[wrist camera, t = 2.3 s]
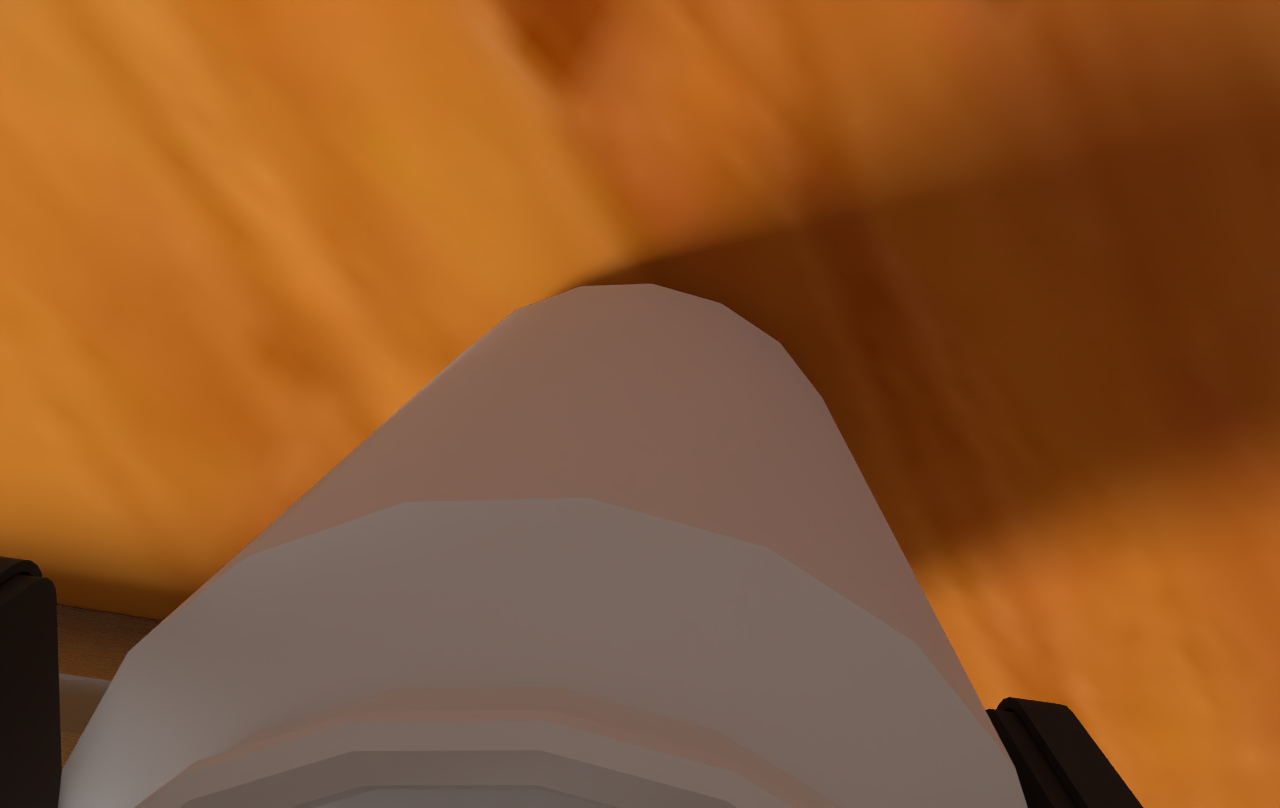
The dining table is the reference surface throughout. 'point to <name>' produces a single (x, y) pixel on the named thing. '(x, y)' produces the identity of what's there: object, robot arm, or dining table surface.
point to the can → (564, 603)
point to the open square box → (90, 663)
